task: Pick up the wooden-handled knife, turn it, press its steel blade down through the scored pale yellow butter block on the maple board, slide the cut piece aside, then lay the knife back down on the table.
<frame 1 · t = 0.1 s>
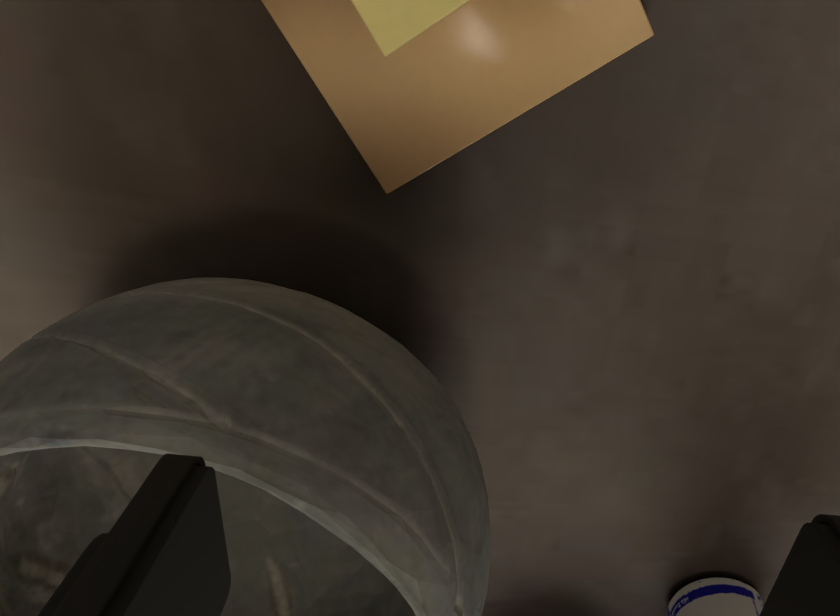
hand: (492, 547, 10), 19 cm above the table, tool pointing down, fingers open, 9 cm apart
bowl: (295, 389, 33), on the table
beverage can: (710, 598, 38), on the table
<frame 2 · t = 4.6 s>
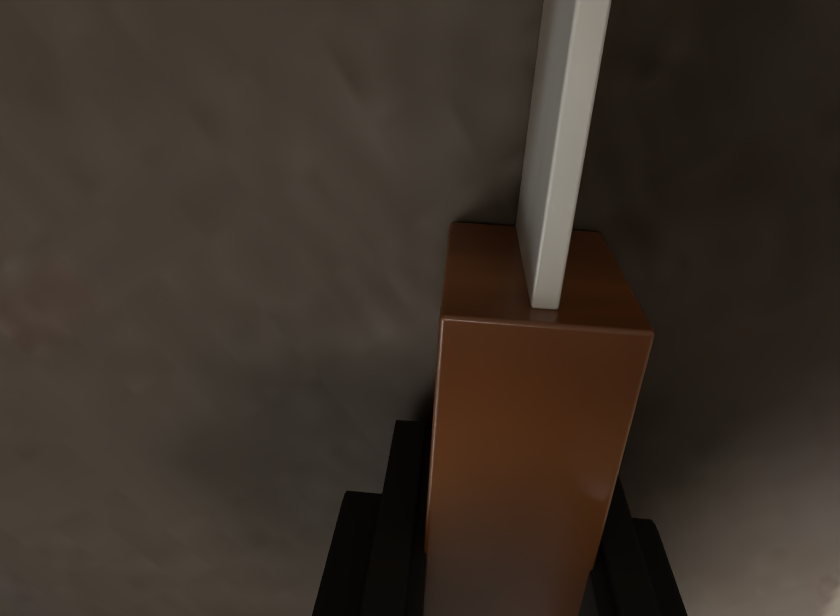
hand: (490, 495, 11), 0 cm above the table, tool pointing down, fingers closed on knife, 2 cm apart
knife: (490, 481, 11), on the table, touching gripper
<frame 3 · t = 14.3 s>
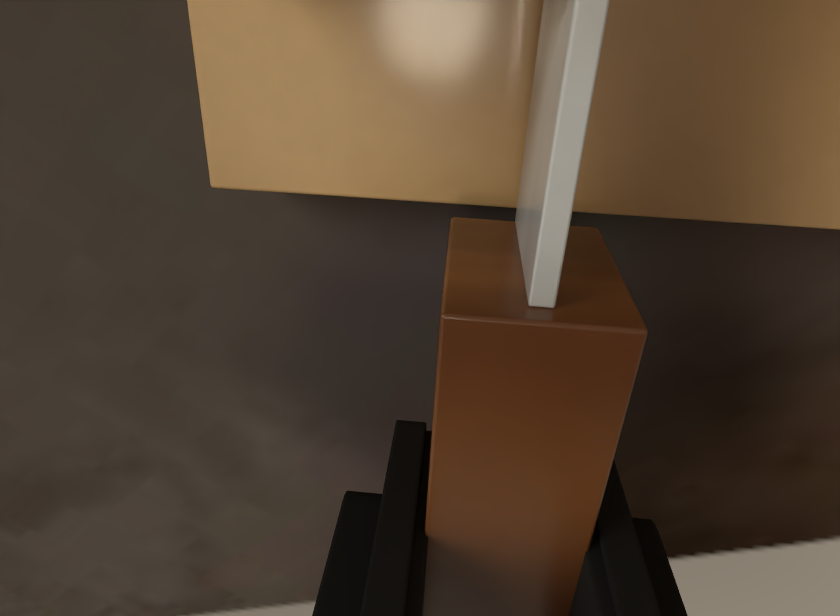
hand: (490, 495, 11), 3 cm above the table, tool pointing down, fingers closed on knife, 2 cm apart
knife: (490, 468, 11), point 2 cm above the table, touching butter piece, gripper
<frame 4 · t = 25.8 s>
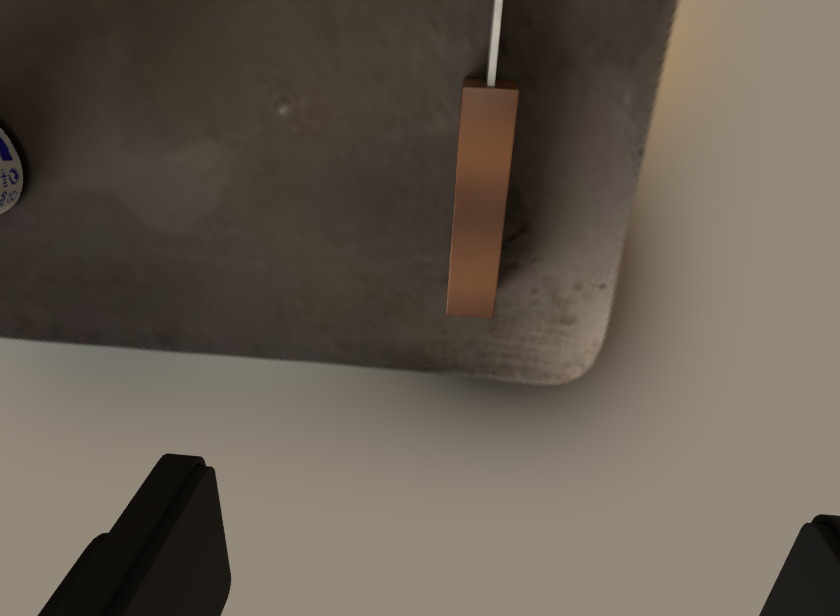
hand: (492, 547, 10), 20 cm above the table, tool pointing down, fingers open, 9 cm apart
knife: (478, 192, 28), on the table
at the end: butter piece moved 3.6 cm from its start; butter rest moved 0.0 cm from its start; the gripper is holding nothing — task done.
